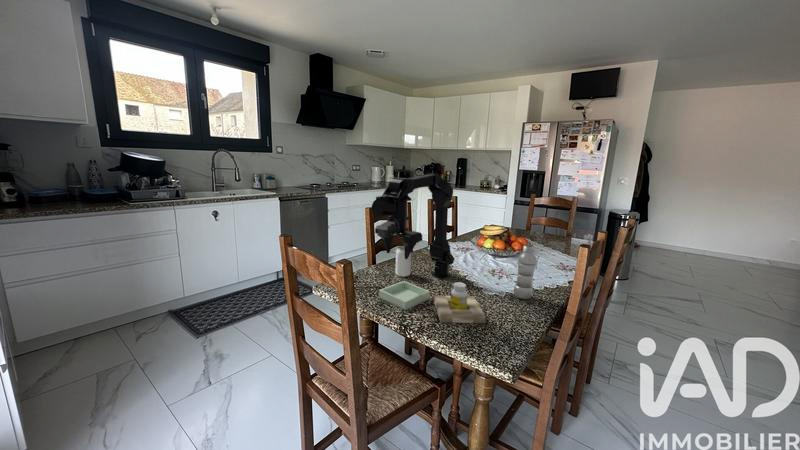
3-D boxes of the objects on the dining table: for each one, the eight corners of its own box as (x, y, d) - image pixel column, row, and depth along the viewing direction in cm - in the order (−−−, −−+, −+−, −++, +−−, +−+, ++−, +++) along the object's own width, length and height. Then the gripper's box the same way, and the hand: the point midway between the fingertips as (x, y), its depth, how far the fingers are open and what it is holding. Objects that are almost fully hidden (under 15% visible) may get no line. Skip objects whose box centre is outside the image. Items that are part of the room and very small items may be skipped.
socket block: (434, 302, 111) (434, 295, 111) (473, 302, 112) (473, 296, 111) (440, 322, 97) (440, 314, 97) (484, 323, 98) (485, 315, 97)
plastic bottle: (509, 295, 119) (515, 244, 115) (522, 292, 122) (529, 243, 118) (521, 302, 113) (528, 249, 109) (535, 299, 116) (542, 247, 112)
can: (408, 277, 133) (409, 250, 130) (393, 276, 134) (394, 249, 132) (411, 272, 139) (412, 246, 137) (397, 271, 140) (398, 245, 138)
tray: (403, 288, 122) (403, 280, 122) (429, 299, 113) (430, 291, 113) (378, 297, 113) (379, 289, 112) (404, 310, 104) (405, 302, 104)
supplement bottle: (446, 309, 106) (448, 282, 104) (459, 307, 108) (462, 280, 106) (455, 317, 101) (457, 288, 99) (469, 314, 103) (471, 286, 101)
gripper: (363, 212, 111) (363, 254, 115) (401, 220, 99) (399, 267, 102) (386, 209, 119) (385, 248, 122) (424, 216, 107) (422, 260, 110)
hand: (397, 255), depth 114 cm, fingers open, 9 cm apart
